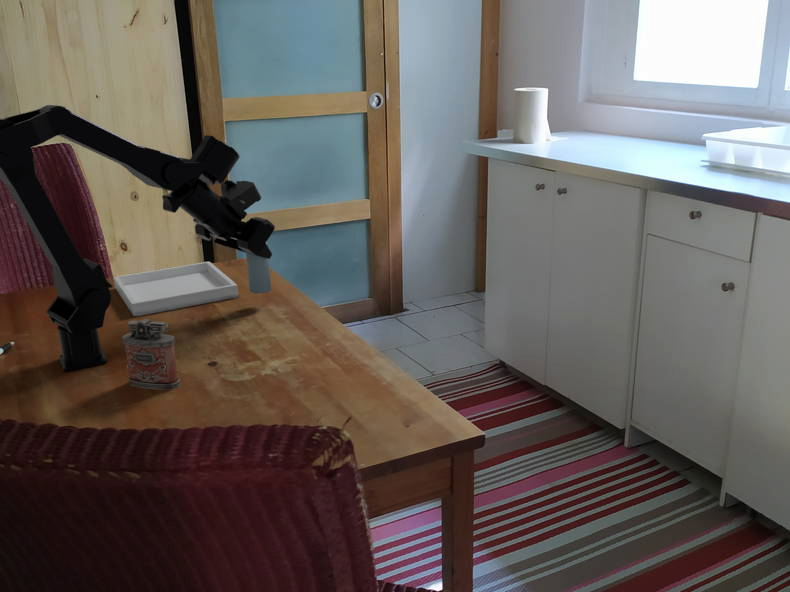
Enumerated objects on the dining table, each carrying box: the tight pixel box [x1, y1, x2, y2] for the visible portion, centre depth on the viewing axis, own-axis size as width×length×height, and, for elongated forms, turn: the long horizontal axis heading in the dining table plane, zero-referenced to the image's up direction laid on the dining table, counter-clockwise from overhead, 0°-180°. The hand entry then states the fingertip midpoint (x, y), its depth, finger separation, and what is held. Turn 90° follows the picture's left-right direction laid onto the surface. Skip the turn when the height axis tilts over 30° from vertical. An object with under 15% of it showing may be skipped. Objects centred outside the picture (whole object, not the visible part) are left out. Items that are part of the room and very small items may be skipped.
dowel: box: [245, 241, 272, 294], centre depth 140 cm, size 4×4×12 cm
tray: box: [113, 261, 240, 318], centre depth 152 cm, size 20×20×2 cm
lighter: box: [121, 318, 181, 391], centre depth 110 cm, size 8×3×10 cm, turn 73°
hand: (263, 254), depth 141 cm, fingers closed on dowel, 4 cm apart
